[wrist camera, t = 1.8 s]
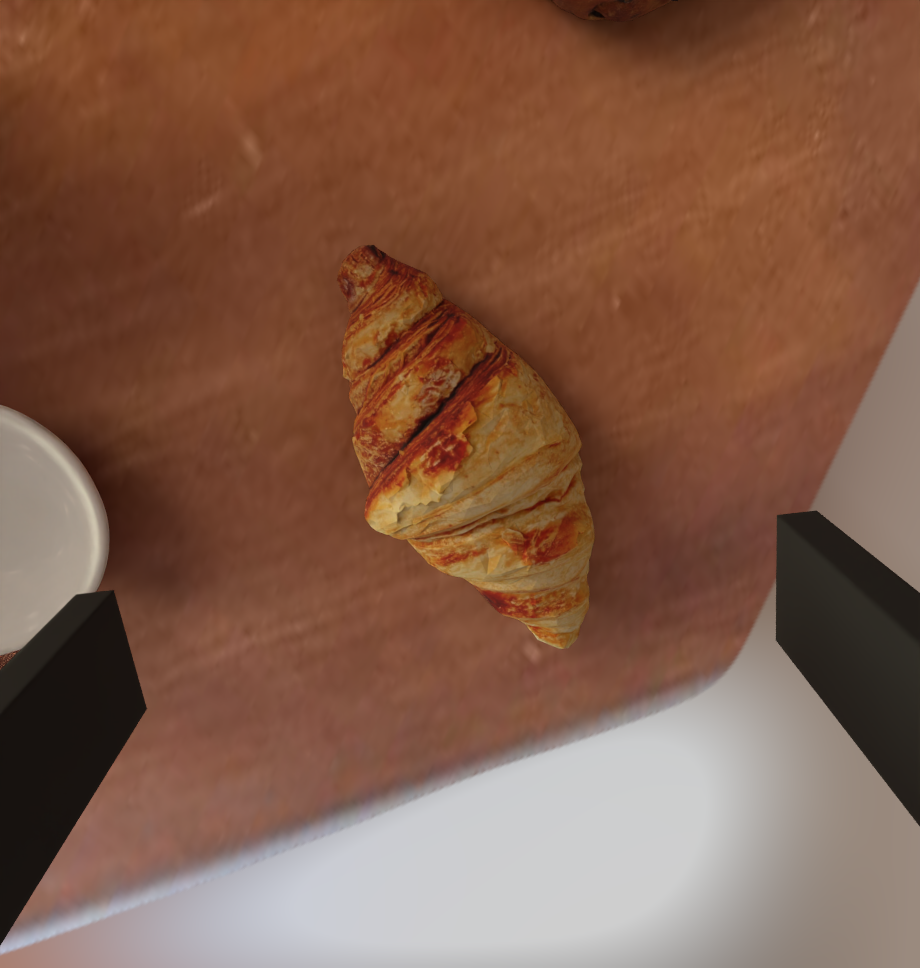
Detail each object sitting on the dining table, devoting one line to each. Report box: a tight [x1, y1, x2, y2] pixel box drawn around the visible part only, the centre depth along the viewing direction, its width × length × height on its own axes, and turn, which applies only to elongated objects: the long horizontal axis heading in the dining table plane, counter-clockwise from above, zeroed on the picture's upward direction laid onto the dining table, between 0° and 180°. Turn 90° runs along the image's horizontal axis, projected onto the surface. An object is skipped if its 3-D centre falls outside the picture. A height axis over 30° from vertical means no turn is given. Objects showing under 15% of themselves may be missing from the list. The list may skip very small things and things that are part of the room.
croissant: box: [337, 245, 595, 649], centre depth 36 cm, size 21×10×8 cm
